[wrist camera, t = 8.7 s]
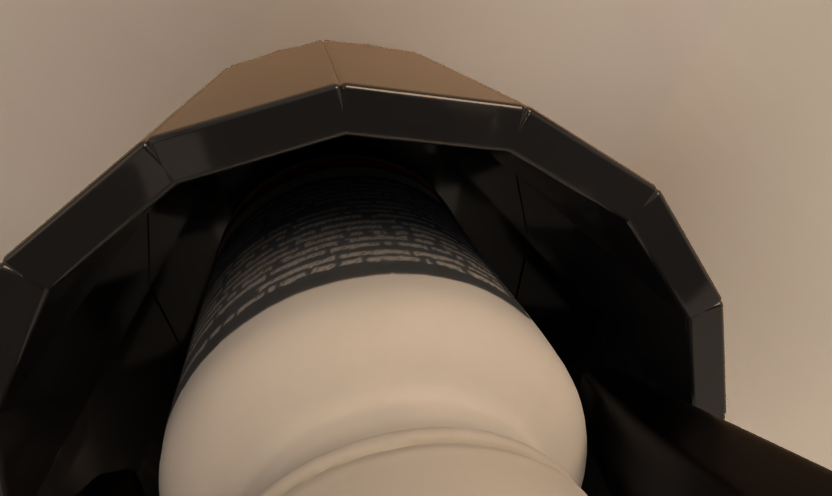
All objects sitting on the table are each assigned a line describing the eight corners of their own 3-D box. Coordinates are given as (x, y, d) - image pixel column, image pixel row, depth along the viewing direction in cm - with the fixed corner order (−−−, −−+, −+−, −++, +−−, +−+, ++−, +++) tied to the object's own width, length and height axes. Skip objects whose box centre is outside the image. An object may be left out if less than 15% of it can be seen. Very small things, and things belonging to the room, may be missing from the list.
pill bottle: (162, 235, 12) (-137, 766, 4) (388, 100, 11) (616, 332, 3) (308, 410, 14) (330, 978, 6) (499, 300, 14) (794, 724, 6)
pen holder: (323, 475, 16) (333, 784, 10) (30, 234, 12) (-265, 485, 6) (603, 270, 15) (819, 467, 9) (379, -62, 11) (474, -142, 5)
